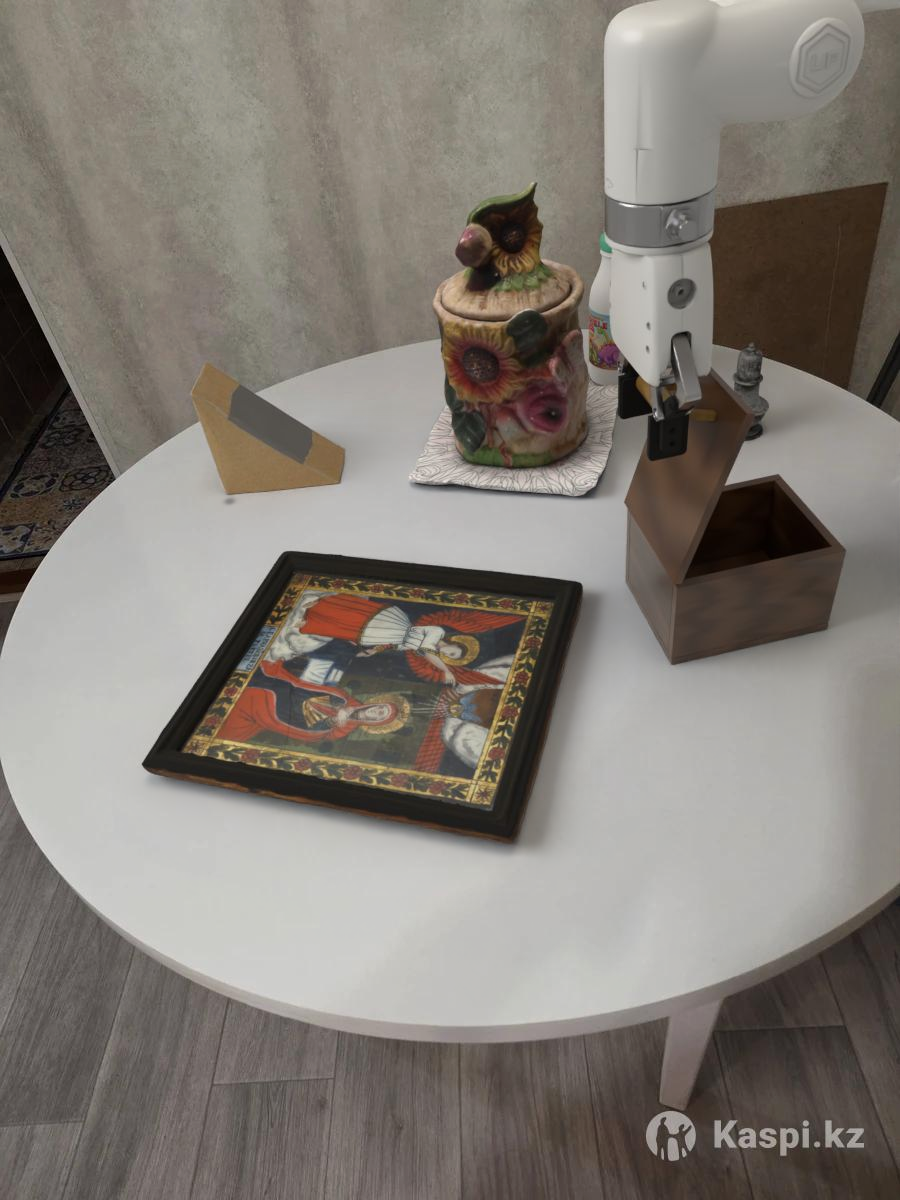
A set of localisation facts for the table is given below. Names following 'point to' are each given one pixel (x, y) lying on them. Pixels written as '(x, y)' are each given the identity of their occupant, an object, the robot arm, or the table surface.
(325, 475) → the sandwich container
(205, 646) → the table surface
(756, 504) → the bin
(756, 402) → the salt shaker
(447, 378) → the cookie jar
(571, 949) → the table surface
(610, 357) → the milk bottle
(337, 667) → the framed painting
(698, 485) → the bin lid
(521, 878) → the table surface
